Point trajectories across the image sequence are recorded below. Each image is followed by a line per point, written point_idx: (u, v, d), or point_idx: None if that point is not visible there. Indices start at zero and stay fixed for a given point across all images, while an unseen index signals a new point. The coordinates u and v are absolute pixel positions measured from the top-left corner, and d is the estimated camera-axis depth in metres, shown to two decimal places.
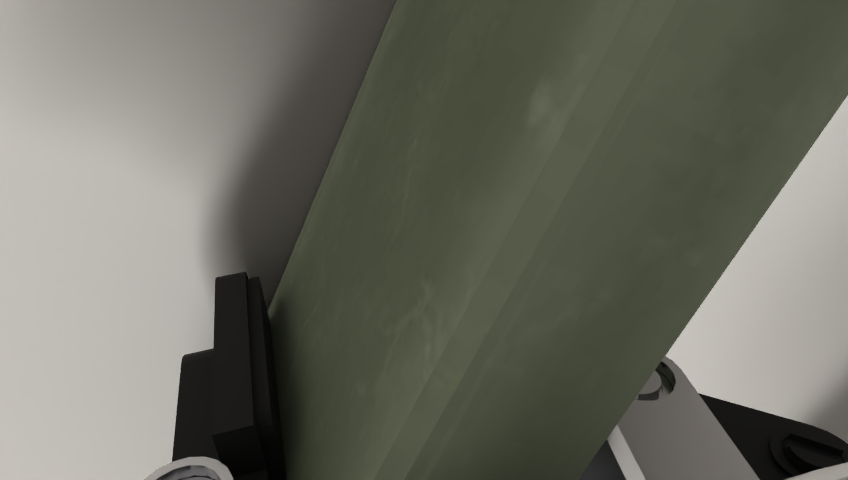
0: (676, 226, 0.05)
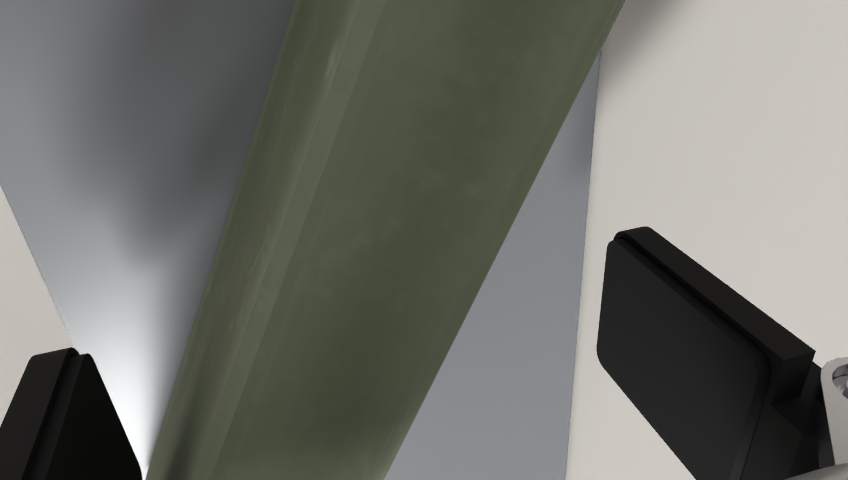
0: (448, 162, 0.06)
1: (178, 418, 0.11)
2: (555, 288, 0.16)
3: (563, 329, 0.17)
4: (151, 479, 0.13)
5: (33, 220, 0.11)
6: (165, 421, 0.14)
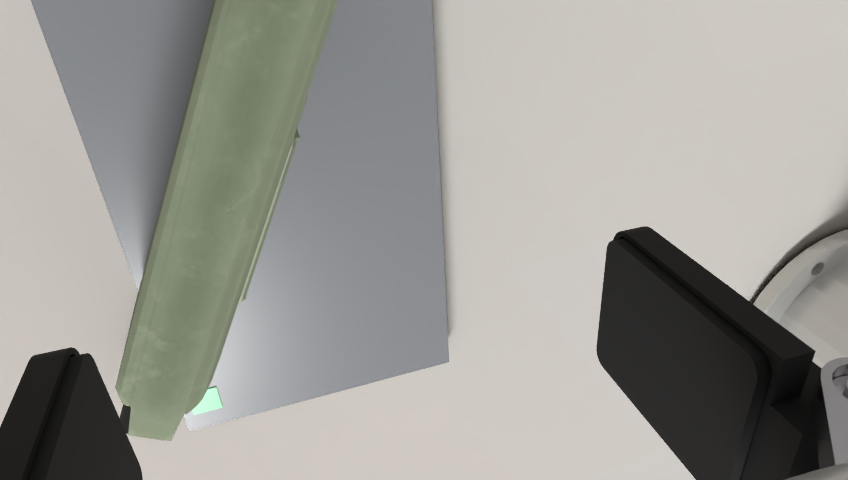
0: None
1: (163, 199, 0.18)
2: (420, 152, 0.23)
3: (430, 185, 0.24)
4: (147, 260, 0.20)
5: (71, 82, 0.18)
6: (155, 229, 0.21)
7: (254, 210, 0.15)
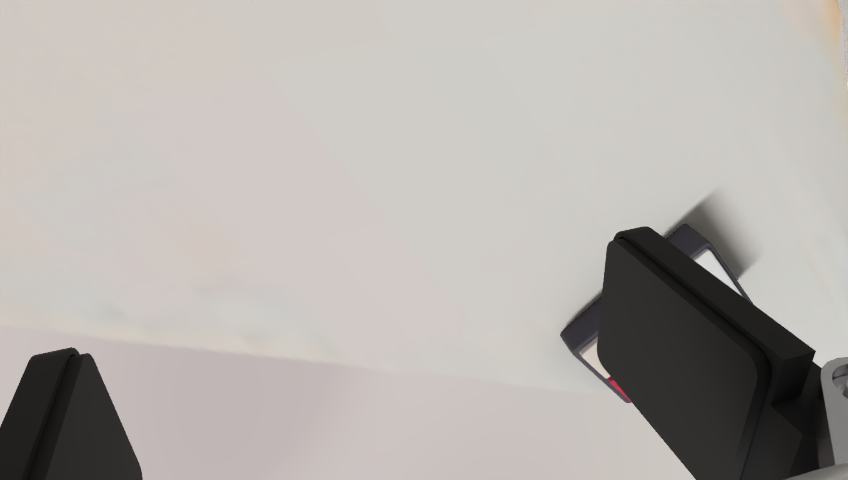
0: None
1: None
2: None
3: None
4: None
5: None
6: None
7: None
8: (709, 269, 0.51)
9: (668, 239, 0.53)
